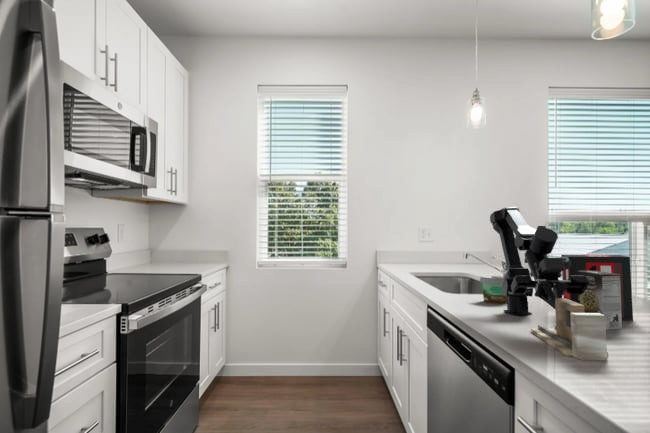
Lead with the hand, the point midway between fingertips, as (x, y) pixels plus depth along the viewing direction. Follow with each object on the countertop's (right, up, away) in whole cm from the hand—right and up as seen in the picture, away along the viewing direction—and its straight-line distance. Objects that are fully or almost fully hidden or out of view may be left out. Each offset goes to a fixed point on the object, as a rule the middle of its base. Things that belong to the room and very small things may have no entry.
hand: (560, 310), depth 96 cm
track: (0, -8, -3) cm, 8 cm away
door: (-1, -6, -5) cm, 8 cm away
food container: (+7, -10, +48) cm, 50 cm away
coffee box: (+20, -8, +13) cm, 26 cm away
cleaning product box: (+28, -8, +25) cm, 39 cm away
